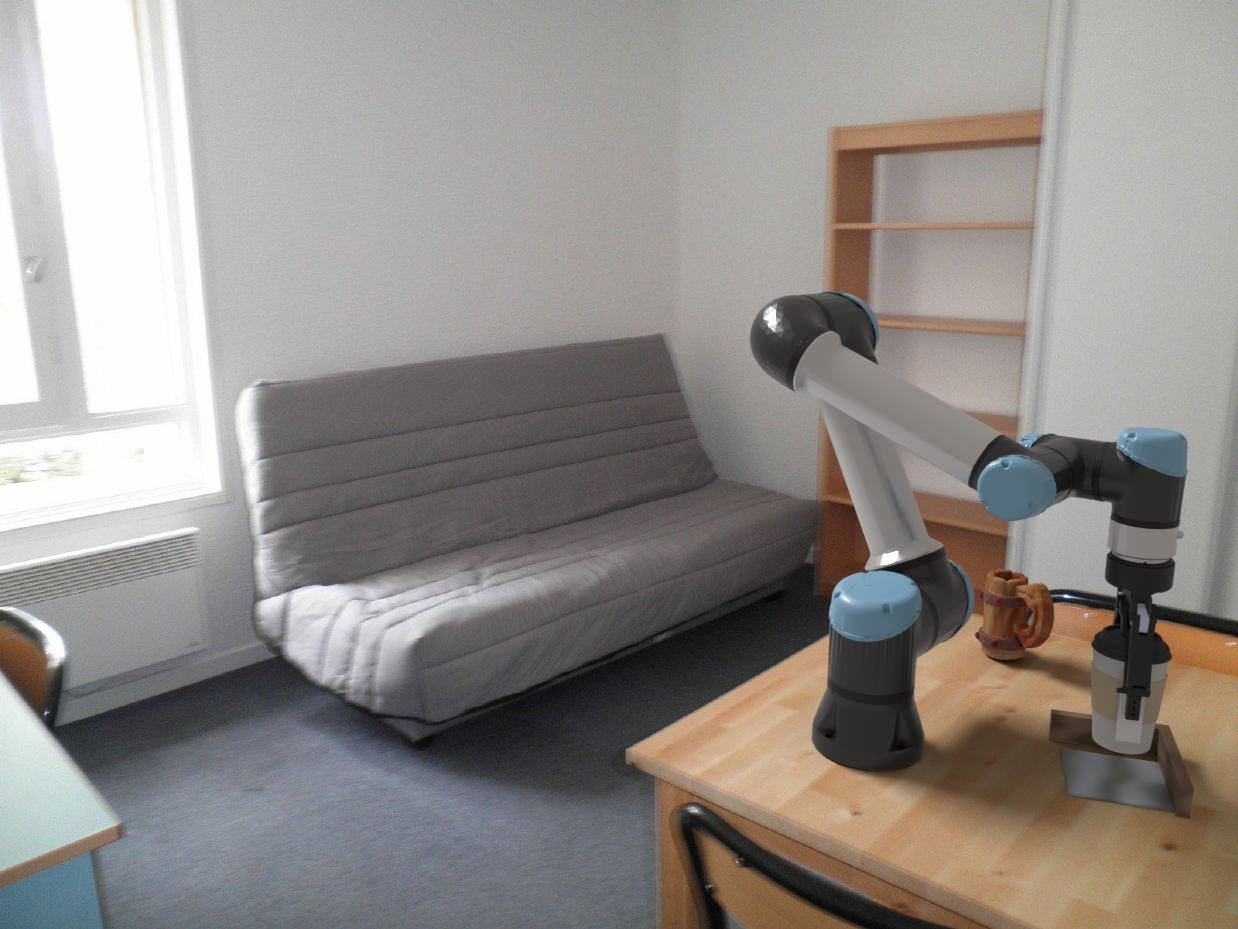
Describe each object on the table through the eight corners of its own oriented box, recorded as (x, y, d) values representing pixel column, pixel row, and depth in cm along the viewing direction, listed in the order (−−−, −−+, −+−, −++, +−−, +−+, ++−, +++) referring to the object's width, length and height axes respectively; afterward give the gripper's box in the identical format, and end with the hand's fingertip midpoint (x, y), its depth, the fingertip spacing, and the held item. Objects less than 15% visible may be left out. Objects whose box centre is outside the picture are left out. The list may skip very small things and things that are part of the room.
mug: (963, 647, 171) (970, 564, 167) (1003, 641, 173) (1010, 559, 170) (1021, 682, 157) (1029, 592, 154) (1063, 676, 160) (1073, 587, 156)
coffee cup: (1148, 727, 131) (1160, 620, 128) (1170, 762, 123) (1185, 647, 119) (1074, 721, 133) (1085, 615, 130) (1092, 755, 124) (1103, 642, 121)
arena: (1057, 796, 125) (1060, 767, 124) (1048, 735, 141) (1051, 709, 140) (1189, 818, 120) (1194, 788, 120) (1165, 752, 136) (1169, 725, 135)
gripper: (1193, 585, 111) (1170, 769, 116) (1160, 533, 131) (1142, 692, 136) (1118, 578, 114) (1099, 759, 119) (1097, 528, 133) (1081, 685, 138)
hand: (1122, 723), depth 127 cm, fingers closed on coffee cup, 8 cm apart
